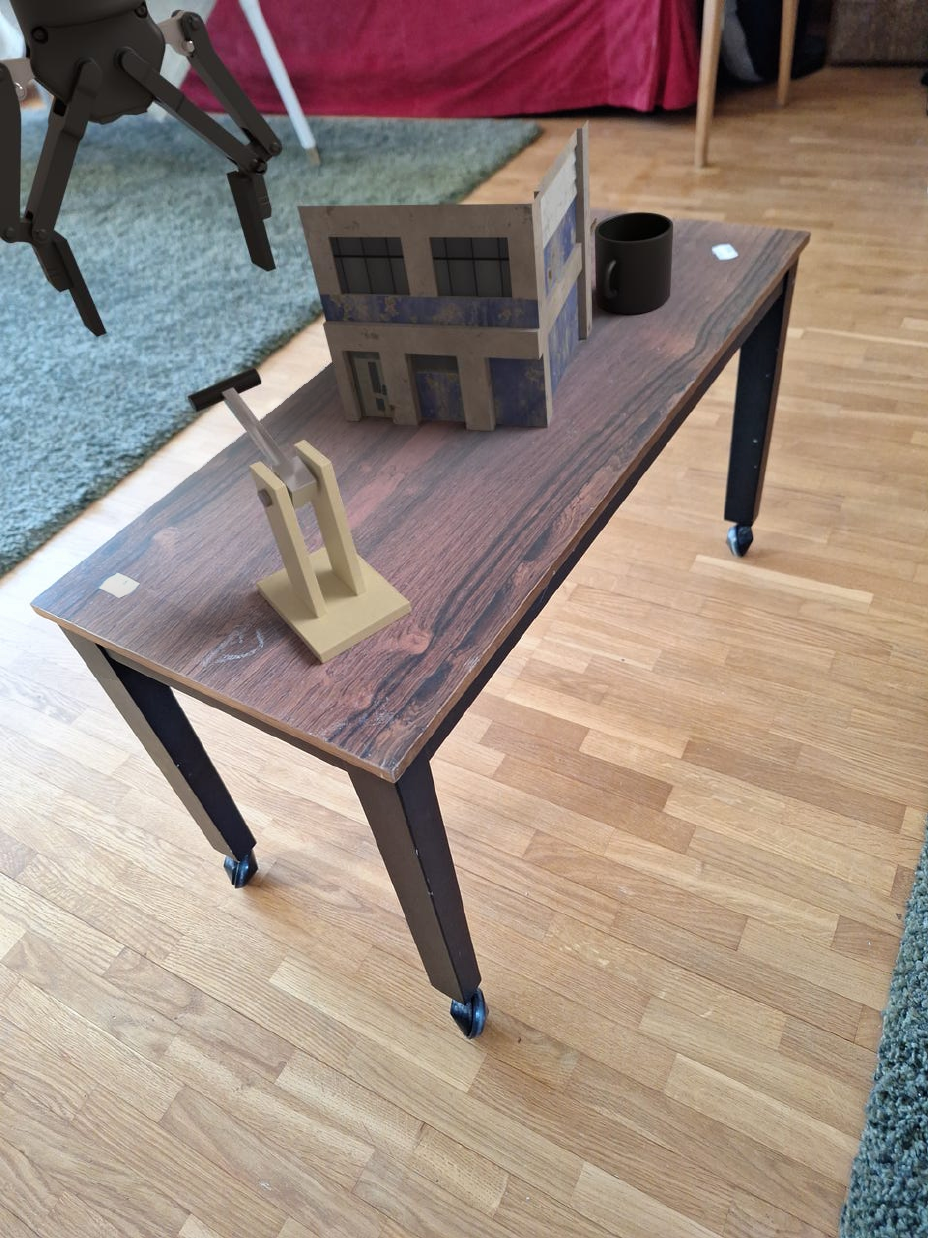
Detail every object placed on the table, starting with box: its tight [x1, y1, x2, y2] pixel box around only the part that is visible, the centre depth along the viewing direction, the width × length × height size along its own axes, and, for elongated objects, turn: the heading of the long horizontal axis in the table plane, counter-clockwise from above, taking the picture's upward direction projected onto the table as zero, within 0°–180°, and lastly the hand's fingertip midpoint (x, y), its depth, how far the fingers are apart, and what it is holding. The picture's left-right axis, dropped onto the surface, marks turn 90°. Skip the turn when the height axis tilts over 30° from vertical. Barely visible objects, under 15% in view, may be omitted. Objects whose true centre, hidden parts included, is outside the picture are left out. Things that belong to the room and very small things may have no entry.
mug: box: [594, 211, 674, 315], centre depth 107 cm, size 9×12×9 cm
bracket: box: [248, 439, 412, 665], centre depth 71 cm, size 12×9×15 cm
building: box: [296, 120, 593, 432], centre depth 94 cm, size 23×24×23 cm
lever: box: [187, 367, 318, 511], centre depth 69 cm, size 13×6×2 cm, turn 36°
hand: (183, 296), depth 64 cm, fingers open, 13 cm apart
